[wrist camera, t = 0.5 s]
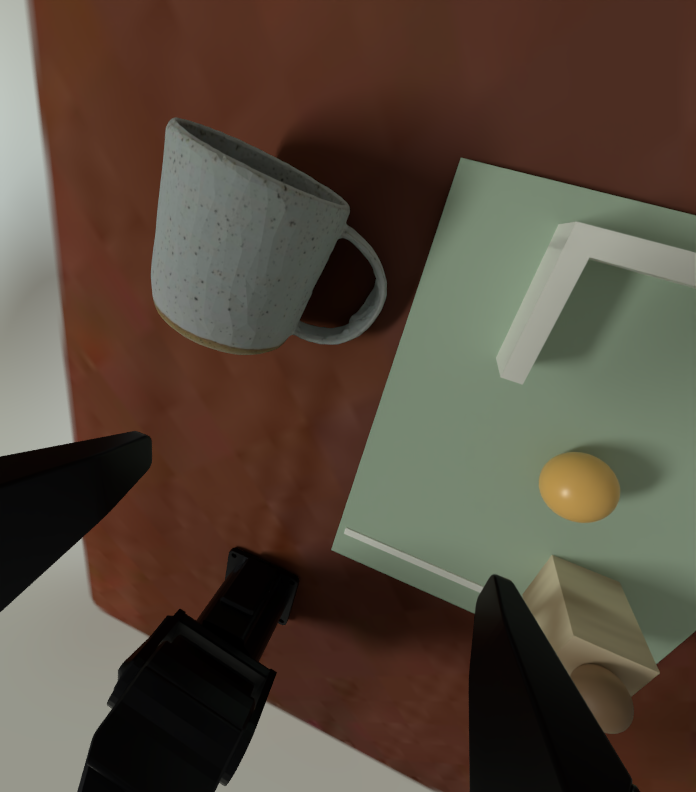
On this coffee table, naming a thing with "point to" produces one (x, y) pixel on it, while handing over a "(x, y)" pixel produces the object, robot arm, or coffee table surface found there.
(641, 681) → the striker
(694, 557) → the pitch mat
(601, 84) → the coffee table surface
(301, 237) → the ceramic mug
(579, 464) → the ball
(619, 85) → the coffee table surface
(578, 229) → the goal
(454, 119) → the coffee table surface
